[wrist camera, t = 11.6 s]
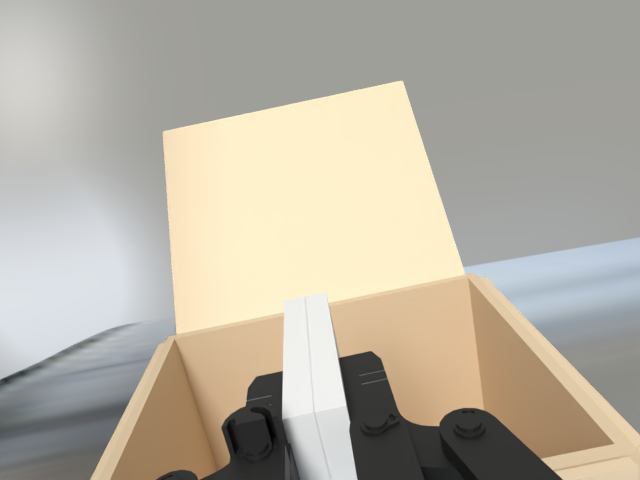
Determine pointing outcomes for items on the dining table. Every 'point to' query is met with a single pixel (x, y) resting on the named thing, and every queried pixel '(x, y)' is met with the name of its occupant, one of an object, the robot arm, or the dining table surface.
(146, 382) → the carton
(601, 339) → the dining table surface
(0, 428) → the dining table surface
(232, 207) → the carton flap
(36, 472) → the dining table surface
